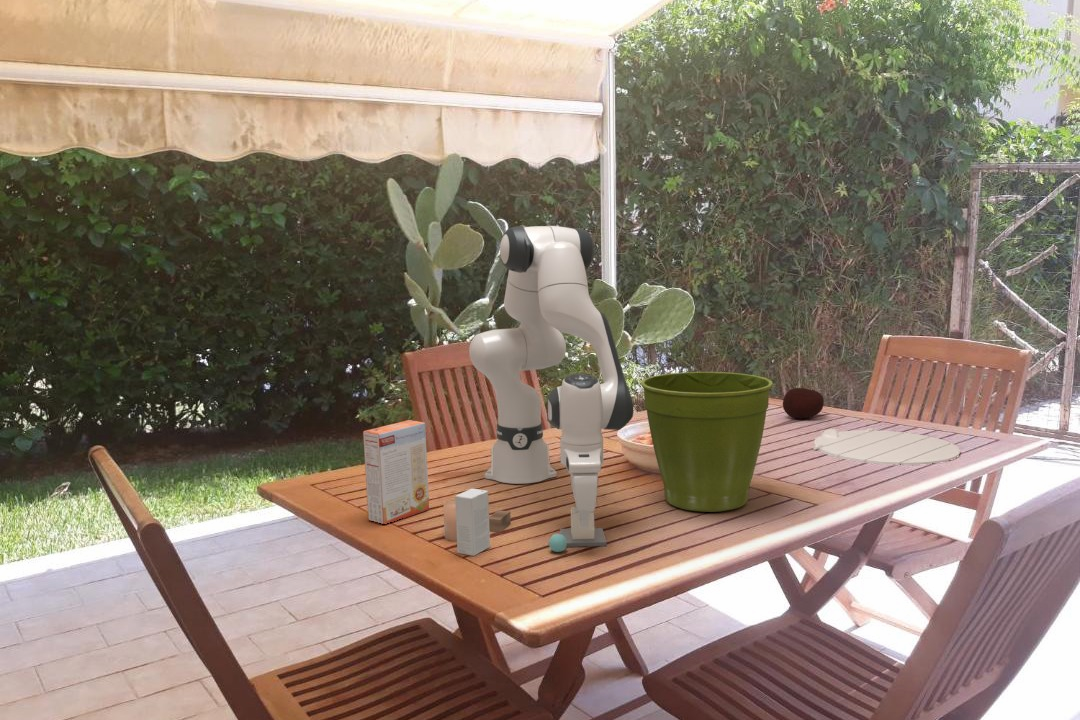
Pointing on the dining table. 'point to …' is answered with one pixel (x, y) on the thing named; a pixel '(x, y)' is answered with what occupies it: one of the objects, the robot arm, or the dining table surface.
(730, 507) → the plant pot
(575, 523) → the cream block
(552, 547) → the teal ball
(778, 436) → the dining table surface
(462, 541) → the skincare box
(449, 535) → the tan domed cylinder
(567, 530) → the slate coaster
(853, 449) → the lazy susan
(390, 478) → the cracker box
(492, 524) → the walnut block
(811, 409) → the dark brown rounded lump
